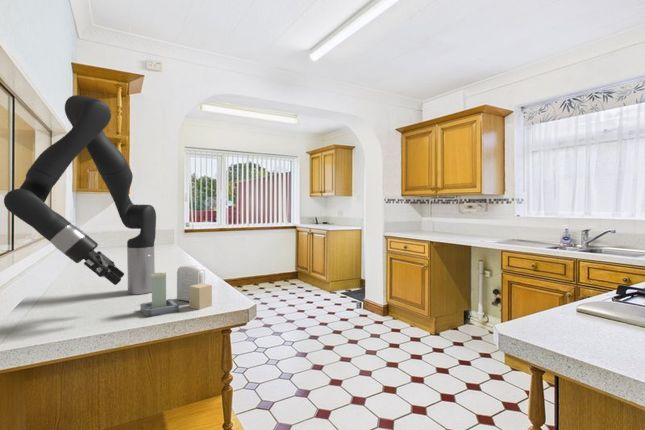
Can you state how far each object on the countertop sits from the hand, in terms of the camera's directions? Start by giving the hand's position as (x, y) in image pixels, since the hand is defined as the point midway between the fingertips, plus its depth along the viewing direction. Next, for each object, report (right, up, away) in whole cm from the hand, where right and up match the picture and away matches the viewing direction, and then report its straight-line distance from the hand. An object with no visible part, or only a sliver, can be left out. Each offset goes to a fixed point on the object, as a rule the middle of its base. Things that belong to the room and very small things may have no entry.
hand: (120, 279), depth 109 cm
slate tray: (+10, -11, +5) cm, 15 cm away
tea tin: (+10, -10, +5) cm, 15 cm away
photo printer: (+15, -11, +17) cm, 25 cm away
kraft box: (+21, -11, +10) cm, 25 cm away
